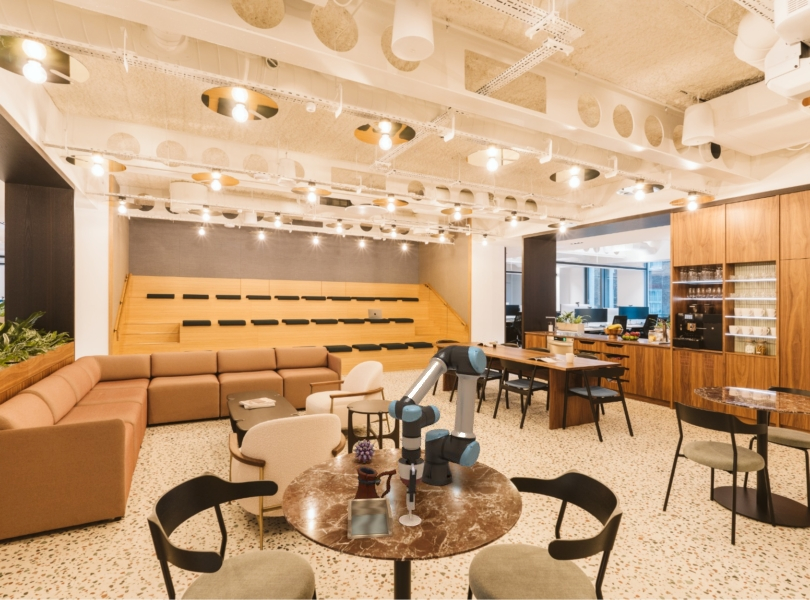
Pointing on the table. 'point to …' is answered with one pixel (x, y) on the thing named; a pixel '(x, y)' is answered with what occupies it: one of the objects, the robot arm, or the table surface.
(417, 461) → the wineglass
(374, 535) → the square tray
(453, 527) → the table surface
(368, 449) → the flower
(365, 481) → the brown pitcher
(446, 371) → the robot arm
